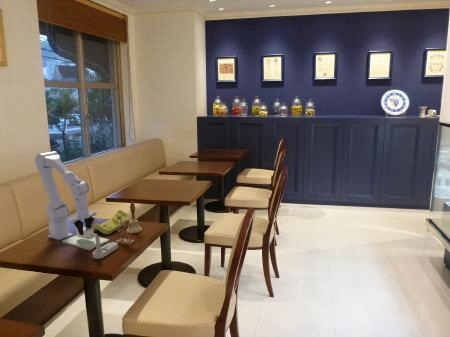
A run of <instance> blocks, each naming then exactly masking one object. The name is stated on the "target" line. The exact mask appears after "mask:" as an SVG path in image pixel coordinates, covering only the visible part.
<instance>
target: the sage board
mask: <svg viewBox="0 0 450 337" xmlns="http://www.w3.org/2000/svg"><path fill="white" fill-rule="evenodd" d="M62 243H63V244H66V245H70V246H72V247H73V246H74V247H77V248H79V249H80V248H81V249H83V250H87V251H91V250H94V249H95V247H96V239H95V237H94V238H93V239H84V238H81V237H77V234H76V235H74V236H73V235H72V236H70V237H67V238H66V239H65V238H64V239H62ZM104 243H105V244H108V243H110V239H109V238H104V237H101V236H100V244H101V246H102V245H105V244H104Z"/></svg>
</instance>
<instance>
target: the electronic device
mask: <svg viewBox="0 0 450 337" xmlns="http://www.w3.org/2000/svg"><path fill="white" fill-rule="evenodd" d="M100 237H101V236H100V235H97V236H95V239H96V249H95V250H94V251H93V252H92V254H91V255H92V258H93V259H95V260H100V259H102V258H105V257H106V256H108V255H110V254H111V253H113V252H114V251H116V250H117V249H118V248H119V243H116V241H112V242H111V241H110V242H107V243H105V244H103V246H102V245H101V244H100Z"/></svg>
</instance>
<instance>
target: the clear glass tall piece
mask: <svg viewBox="0 0 450 337" xmlns="http://www.w3.org/2000/svg"><path fill="white" fill-rule="evenodd" d="M122 220H124V224H123V221H122ZM121 221H122V223H121ZM120 224H121V225H120V226H121V228H119V226H118V227H117V230H116V231H117V232H118V233H120V232H121V234H120V236H119V238H118V239H116V240H115V242H116V243H118V244H120V243H121V245H127V246H128V245H129V246H131V245H133V244H134V243H135V242H136V240H135V239H132V238H131V237H130V235H129V233H127V230H129V229H130V228H131V224H130V223H128V220H127V221H126V220H125V219H121V220H120ZM128 227H130V228H129V229H128ZM123 234H124V235H123ZM122 235H123V237H122Z"/></svg>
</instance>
